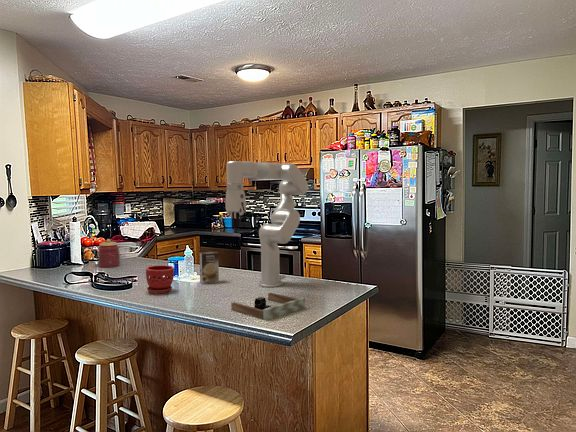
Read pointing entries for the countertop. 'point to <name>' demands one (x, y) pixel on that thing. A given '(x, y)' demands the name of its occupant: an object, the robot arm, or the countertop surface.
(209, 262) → the coffee box
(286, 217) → the robot arm
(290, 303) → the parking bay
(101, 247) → the canister
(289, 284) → the countertop surface
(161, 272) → the plant pot
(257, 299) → the black piece
